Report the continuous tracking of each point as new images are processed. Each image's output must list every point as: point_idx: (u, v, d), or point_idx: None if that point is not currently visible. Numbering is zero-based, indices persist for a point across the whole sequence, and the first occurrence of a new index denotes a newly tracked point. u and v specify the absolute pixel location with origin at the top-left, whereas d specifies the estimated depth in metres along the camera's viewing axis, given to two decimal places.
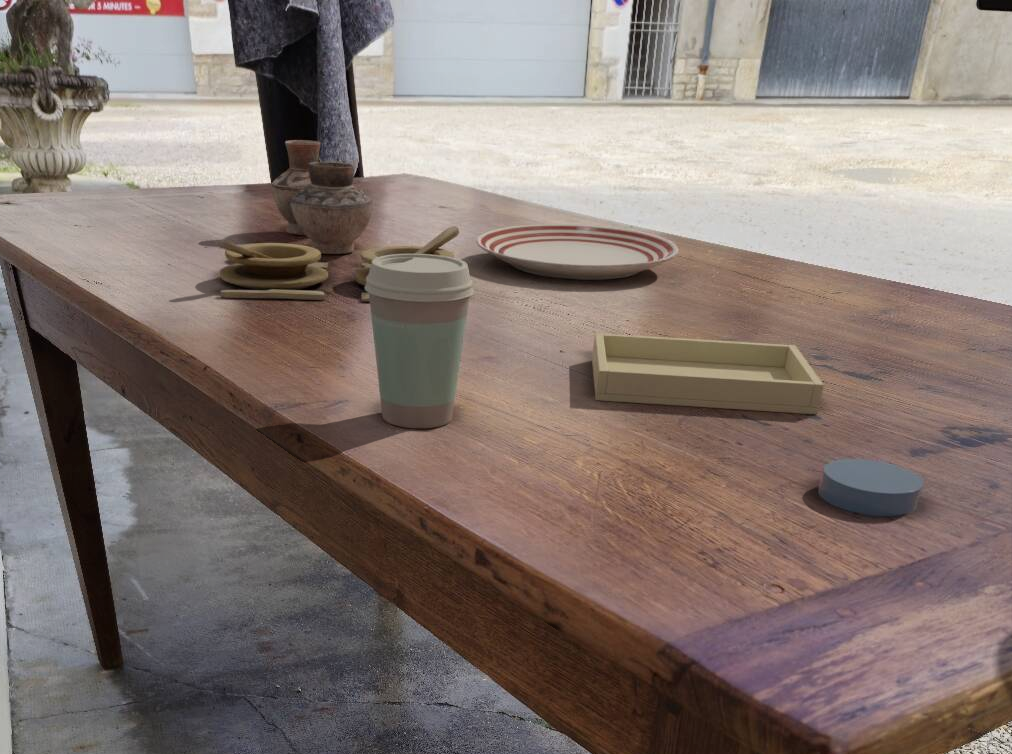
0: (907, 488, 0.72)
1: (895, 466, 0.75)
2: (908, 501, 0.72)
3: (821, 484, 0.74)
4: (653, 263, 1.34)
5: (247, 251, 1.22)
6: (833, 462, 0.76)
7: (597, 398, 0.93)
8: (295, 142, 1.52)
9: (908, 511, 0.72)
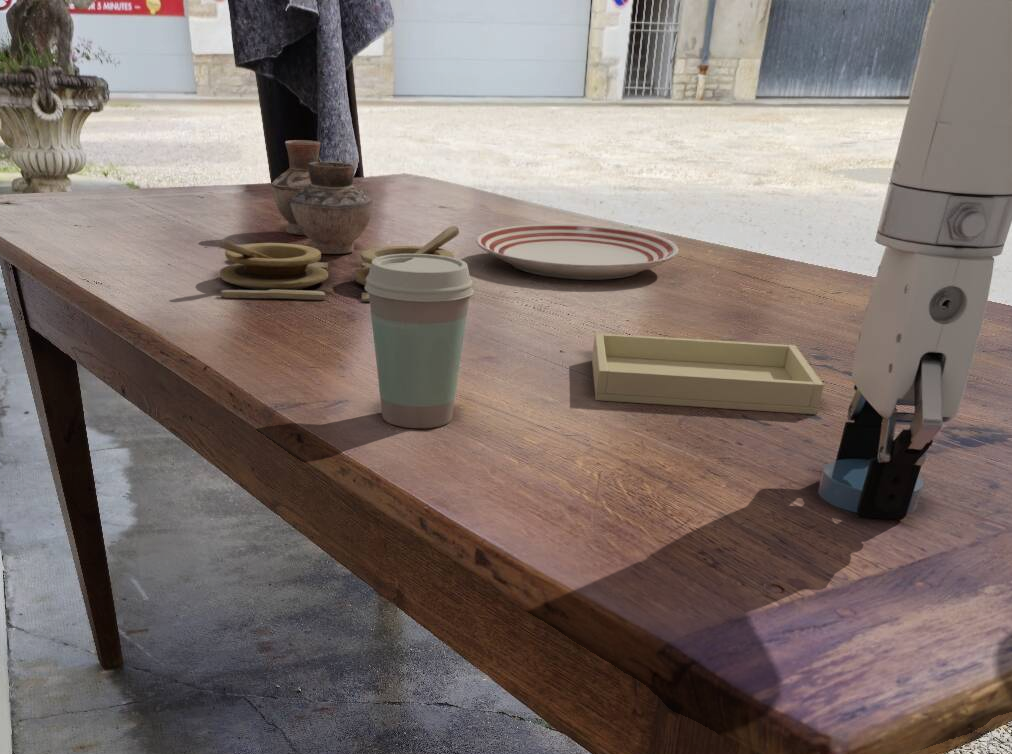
0: None
1: None
2: None
3: (821, 484, 0.74)
4: (653, 263, 1.34)
5: (247, 251, 1.22)
6: (833, 462, 0.76)
7: (597, 398, 0.93)
8: (295, 142, 1.52)
9: (908, 511, 0.72)
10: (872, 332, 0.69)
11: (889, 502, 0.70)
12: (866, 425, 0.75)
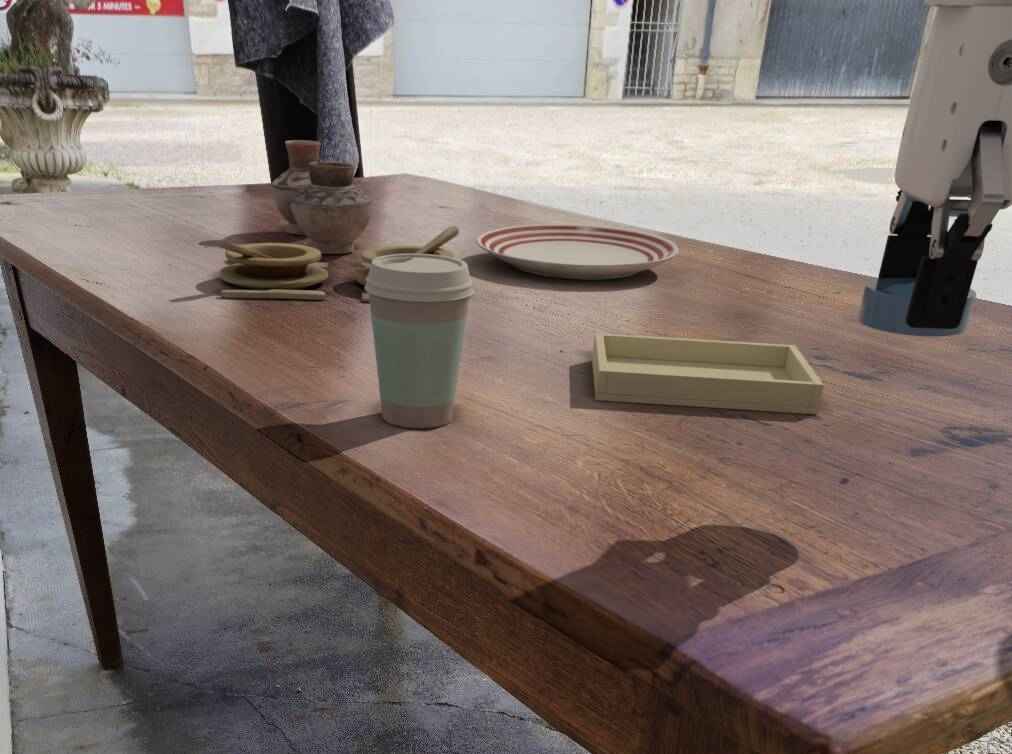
0: None
1: None
2: None
3: (863, 301, 0.68)
4: (653, 263, 1.34)
5: (247, 251, 1.22)
6: (875, 280, 0.70)
7: (597, 398, 0.93)
8: (295, 142, 1.52)
9: (961, 323, 0.66)
10: (920, 116, 0.63)
11: (942, 306, 0.64)
12: (911, 237, 0.69)
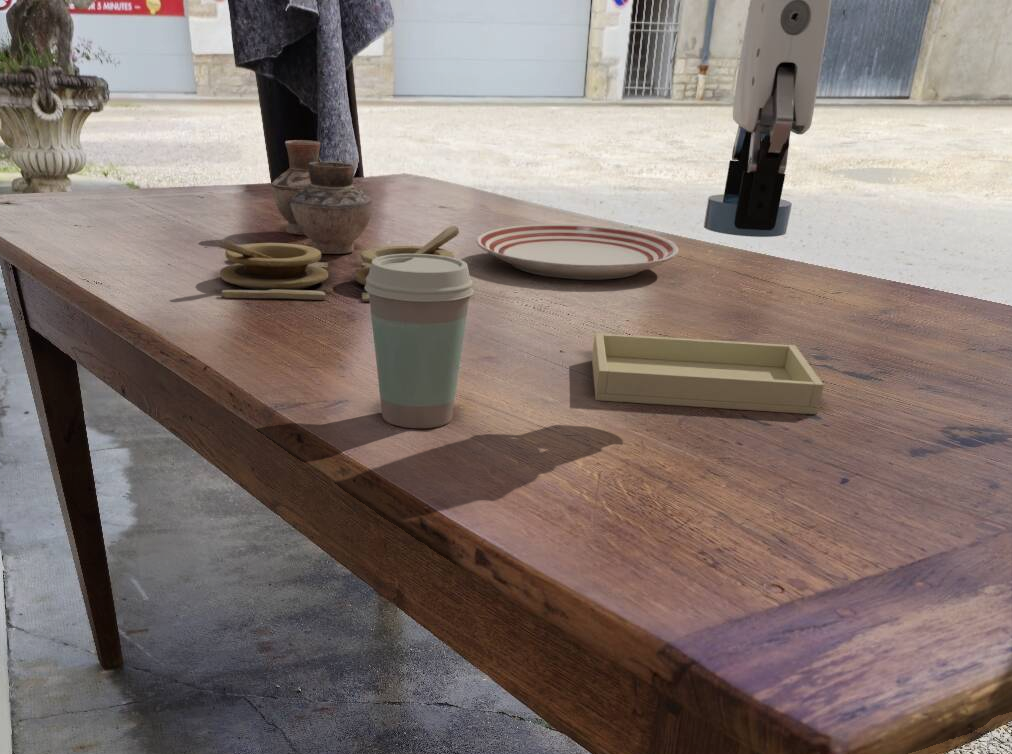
0: None
1: None
2: (777, 216, 0.84)
3: (706, 210, 0.87)
4: (653, 263, 1.34)
5: (247, 251, 1.22)
6: (718, 195, 0.88)
7: (597, 398, 0.93)
8: (295, 142, 1.52)
9: (778, 226, 0.85)
10: (742, 62, 0.81)
11: (759, 210, 0.82)
12: (747, 161, 0.87)
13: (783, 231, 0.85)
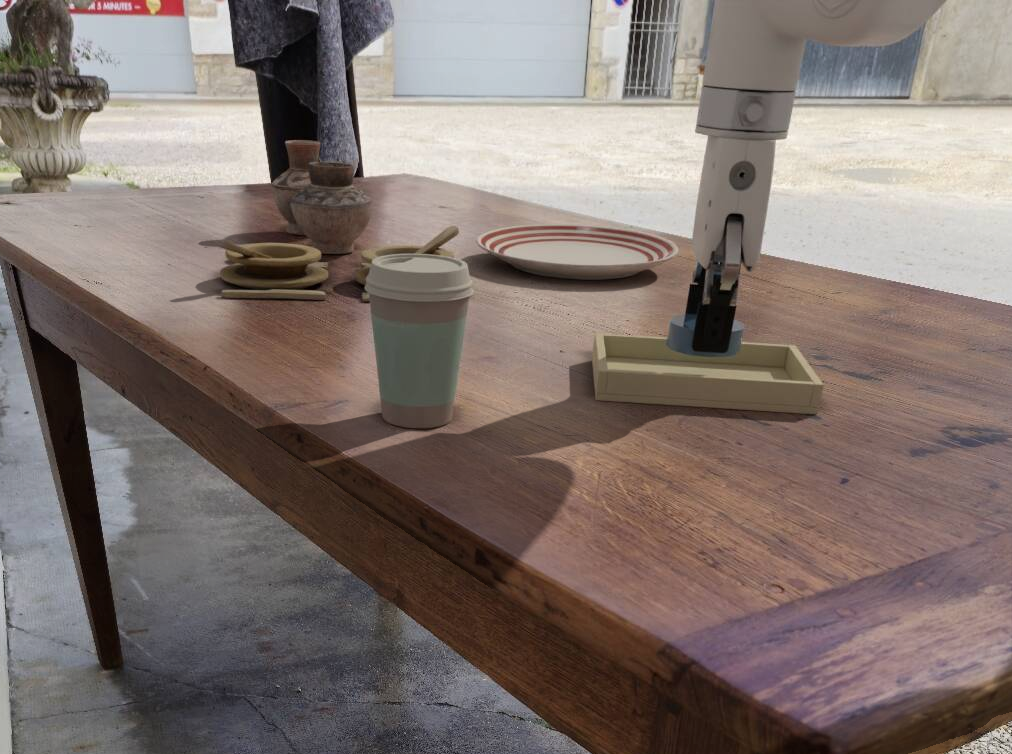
0: None
1: None
2: (730, 339, 0.93)
3: (668, 330, 0.96)
4: (653, 263, 1.34)
5: (248, 251, 1.22)
6: (679, 315, 0.97)
7: (597, 398, 0.93)
8: (295, 142, 1.52)
9: (731, 348, 0.94)
10: (698, 205, 0.90)
11: (713, 337, 0.91)
12: None
13: (736, 351, 0.95)
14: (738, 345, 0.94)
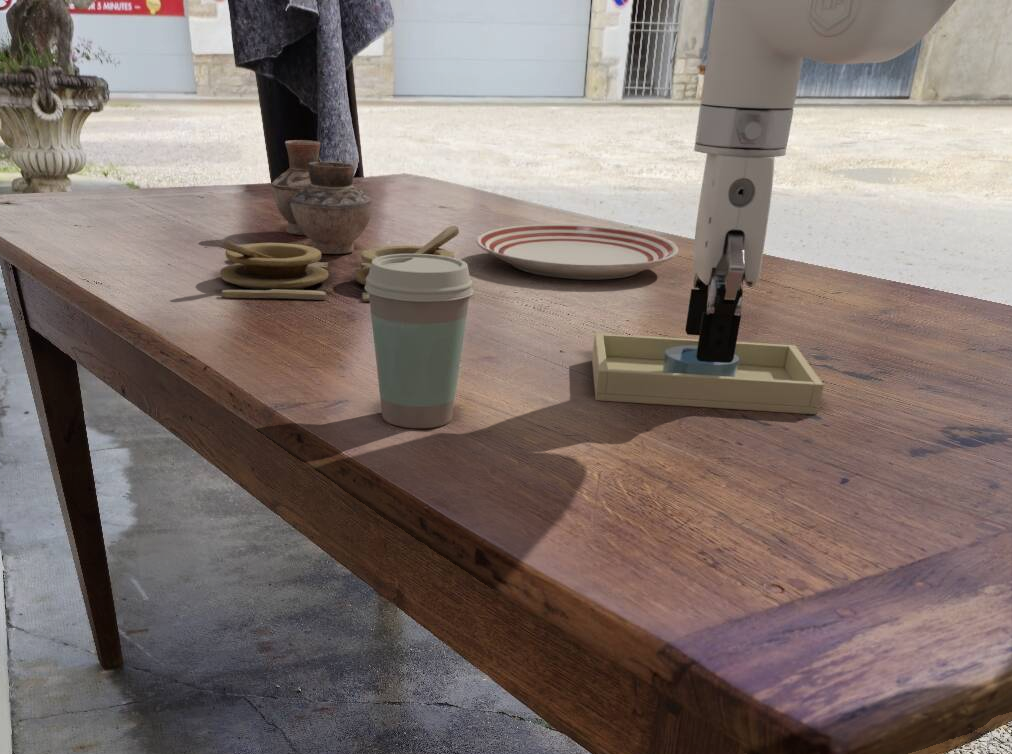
0: None
1: None
2: (724, 372, 0.95)
3: (663, 362, 0.97)
4: (653, 263, 1.34)
5: (248, 251, 1.22)
6: (674, 347, 0.99)
7: (597, 398, 0.93)
8: (295, 142, 1.52)
9: None
10: (698, 222, 0.91)
11: (718, 347, 0.90)
12: (706, 290, 0.98)
13: None
14: None
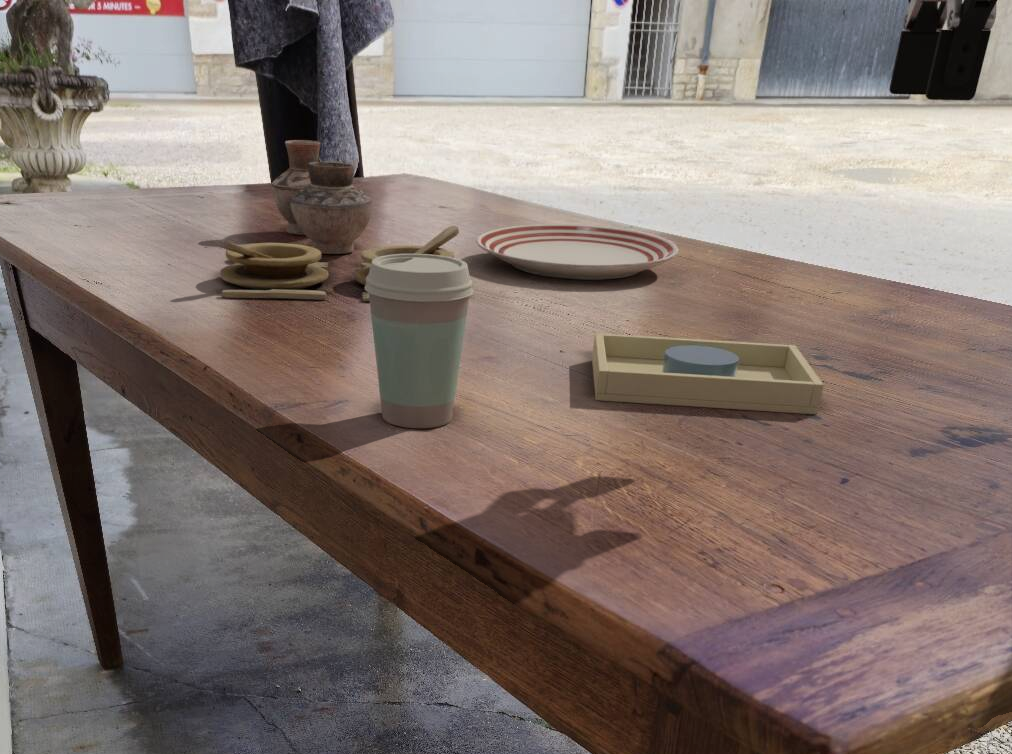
0: (724, 362, 0.95)
1: (722, 350, 0.98)
2: (724, 372, 0.95)
3: (663, 362, 0.97)
4: (653, 263, 1.34)
5: (248, 251, 1.22)
6: (674, 347, 0.99)
7: (597, 398, 0.93)
8: (295, 142, 1.52)
9: None
10: None
11: (959, 75, 0.71)
12: (922, 31, 0.78)
13: None
14: None
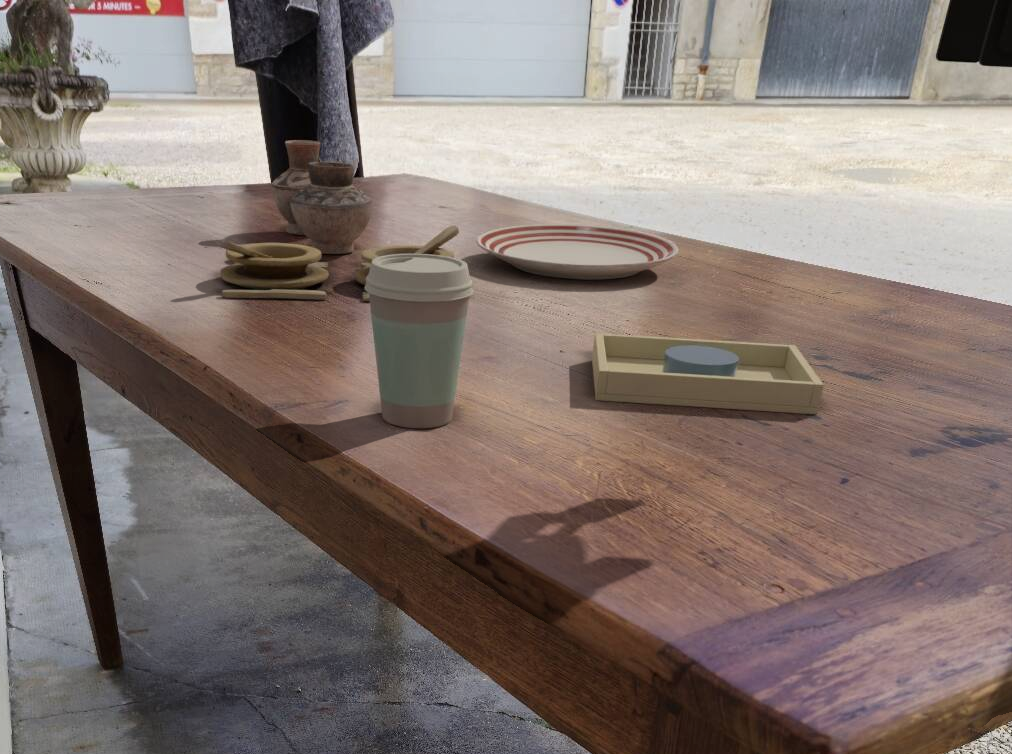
0: (724, 362, 0.95)
1: (722, 350, 0.98)
2: (724, 372, 0.95)
3: (663, 362, 0.97)
4: (653, 263, 1.34)
5: (248, 251, 1.22)
6: (674, 347, 0.99)
7: (597, 398, 0.93)
8: (295, 142, 1.52)
9: None
10: None
11: None
12: None
13: None
14: None
